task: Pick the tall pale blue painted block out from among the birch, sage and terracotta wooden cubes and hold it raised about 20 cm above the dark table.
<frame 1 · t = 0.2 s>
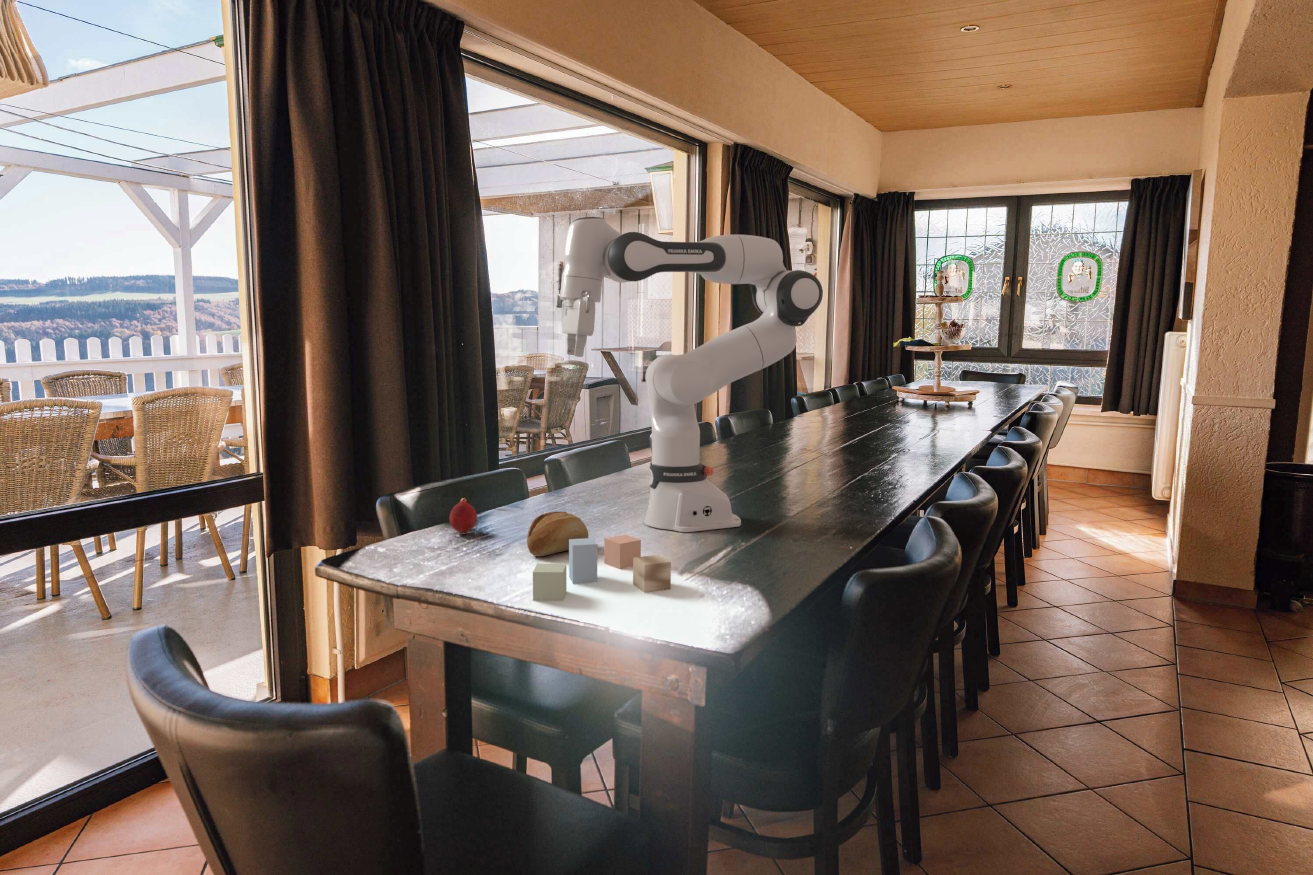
hand: (574, 355, 182), 39 cm above the table, tool pointing down, fingers open, 8 cm apart
bread roll: (556, 552, 168), on the table
terracotta block: (622, 564, 160), on the table
sage block: (550, 596, 140), on the table
pale blue block: (583, 579, 150), on the table
birch block: (651, 587, 146), on the table
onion: (463, 535, 181), on the table
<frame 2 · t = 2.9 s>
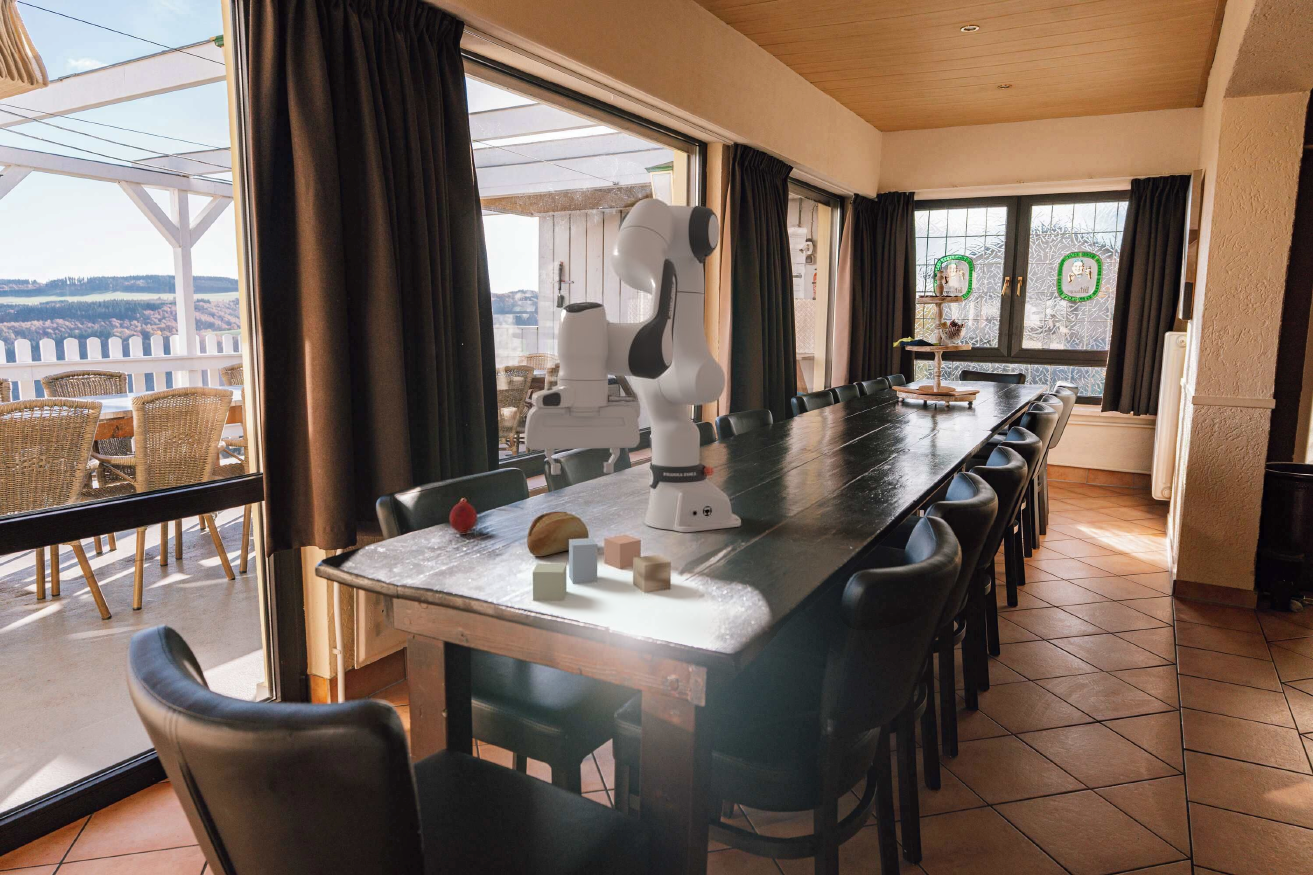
hand: (582, 473, 147), 19 cm above the table, tool pointing down, fingers open, 8 cm apart
nothing on the table moved.
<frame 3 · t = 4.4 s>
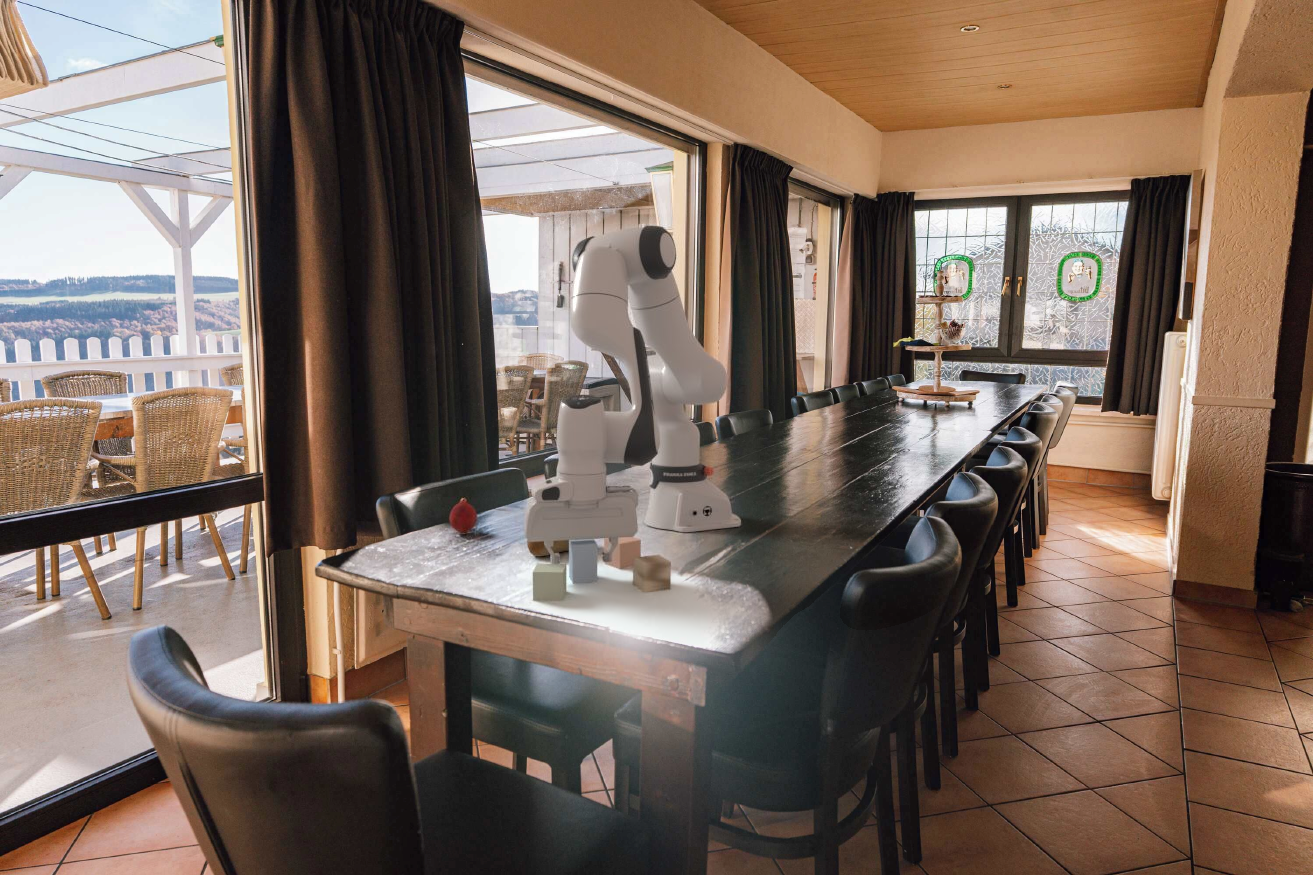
hand: (581, 562, 149), 3 cm above the table, tool pointing down, fingers open, 8 cm apart
nothing on the table moved.
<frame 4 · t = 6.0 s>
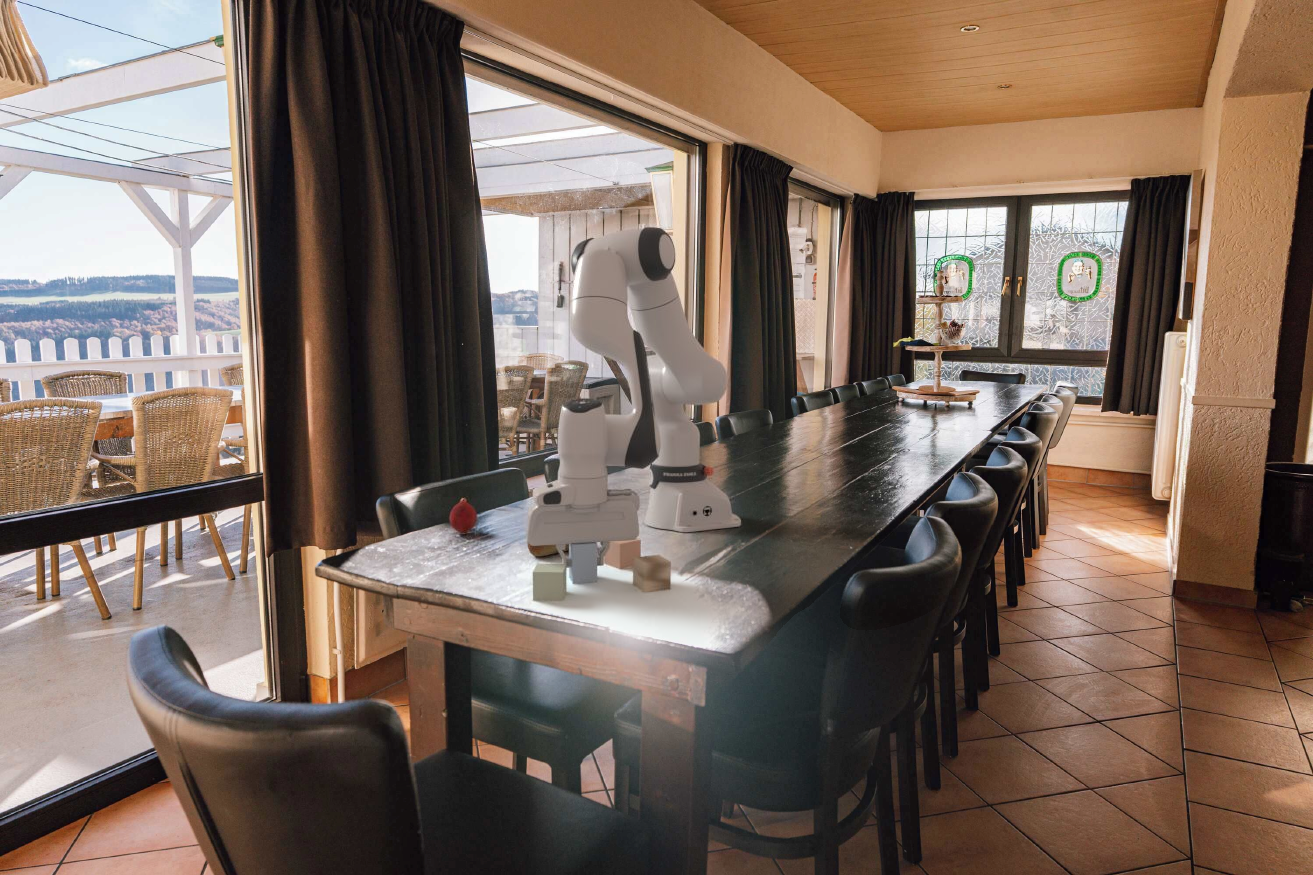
hand: (583, 566, 149), 2 cm above the table, tool pointing down, fingers closed on pale blue block, 4 cm apart
pale blue block: (583, 579, 150), on the table, touching gripper
everything else where it was.
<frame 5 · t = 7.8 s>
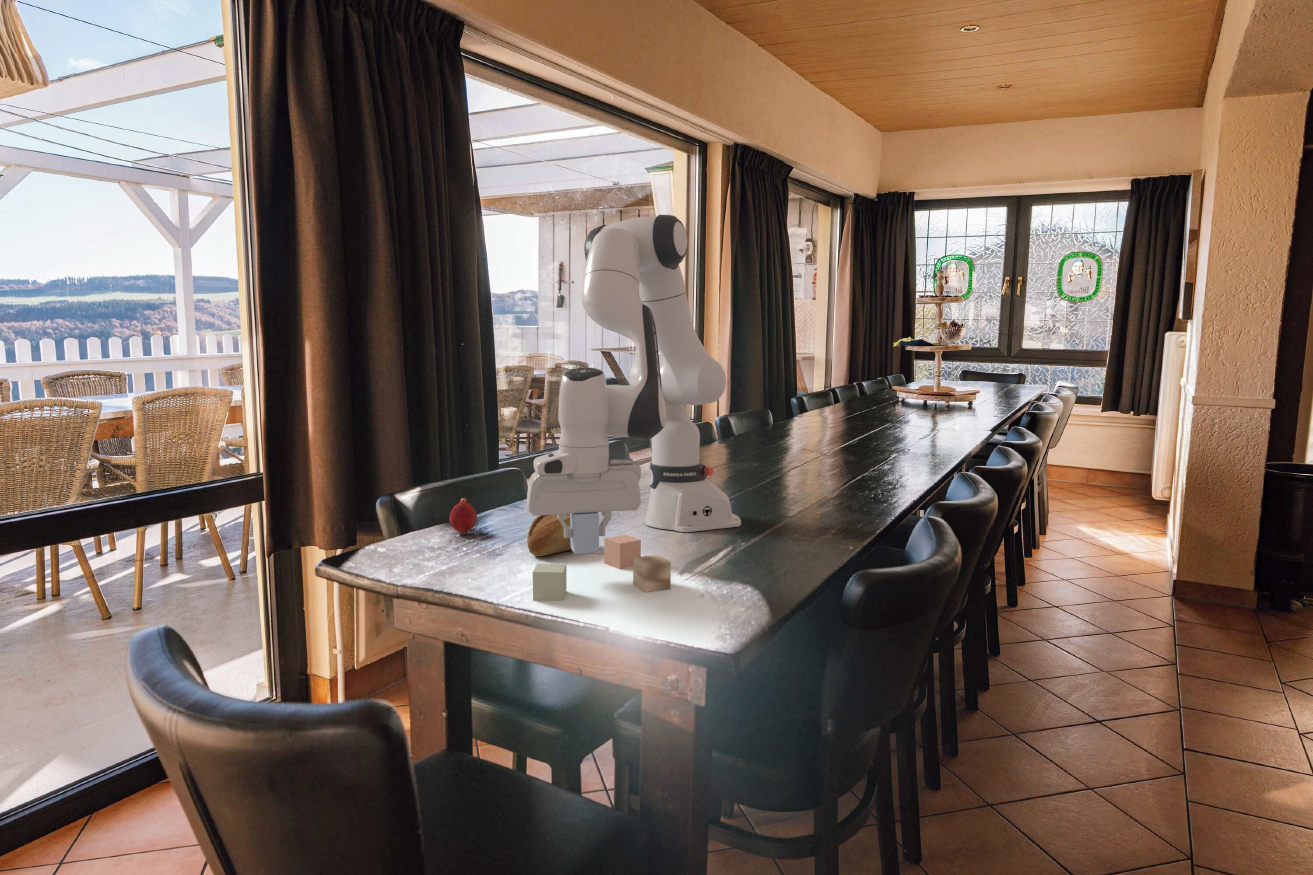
hand: (584, 536, 149), 8 cm above the table, tool pointing down, fingers closed on pale blue block, 4 cm apart
pale blue block: (584, 549, 149), point 5 cm above the table, touching gripper
everything else where it was.
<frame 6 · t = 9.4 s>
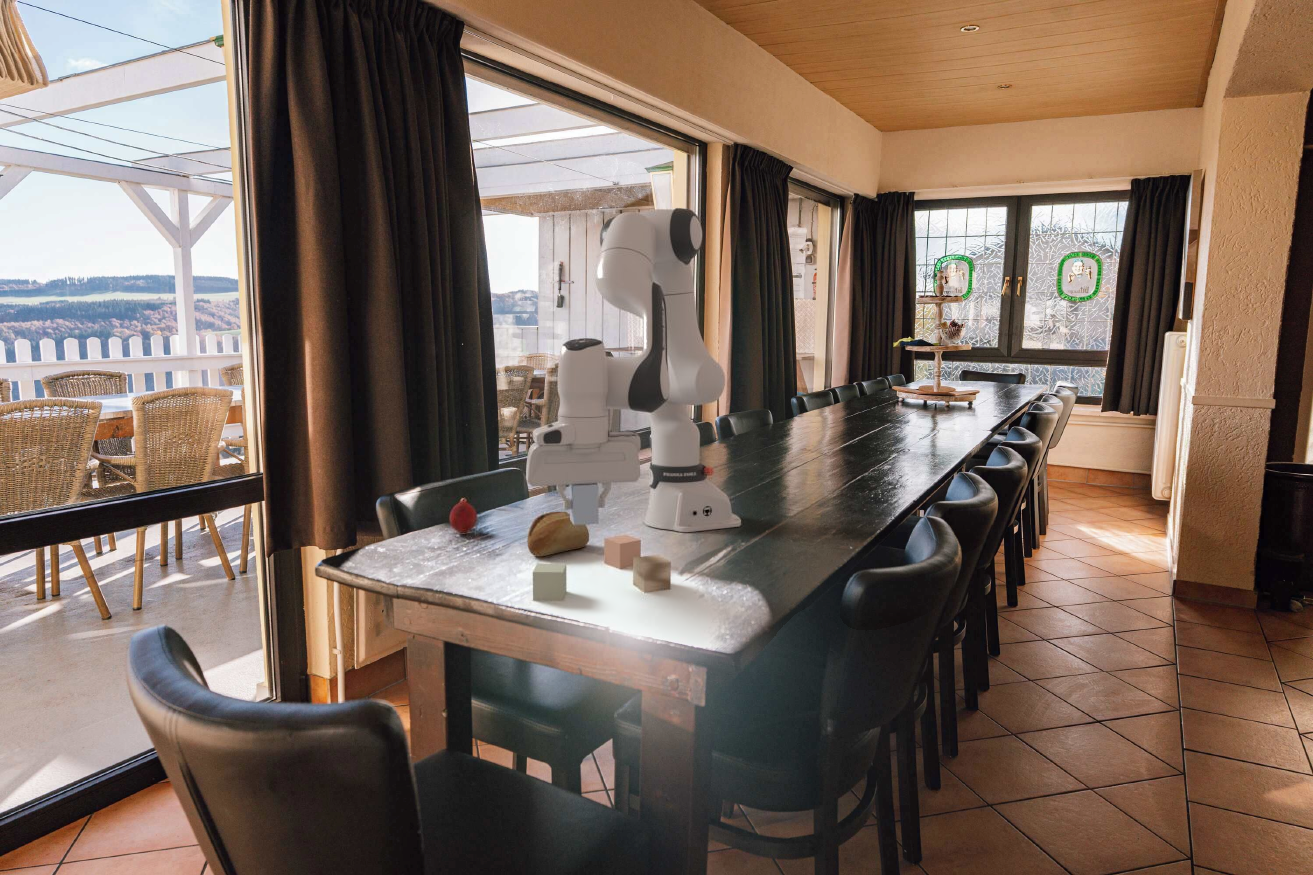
hand: (583, 508, 148), 13 cm above the table, tool pointing down, fingers closed on pale blue block, 4 cm apart
pale blue block: (584, 521, 148), point 11 cm above the table, touching gripper
everything else where it was.
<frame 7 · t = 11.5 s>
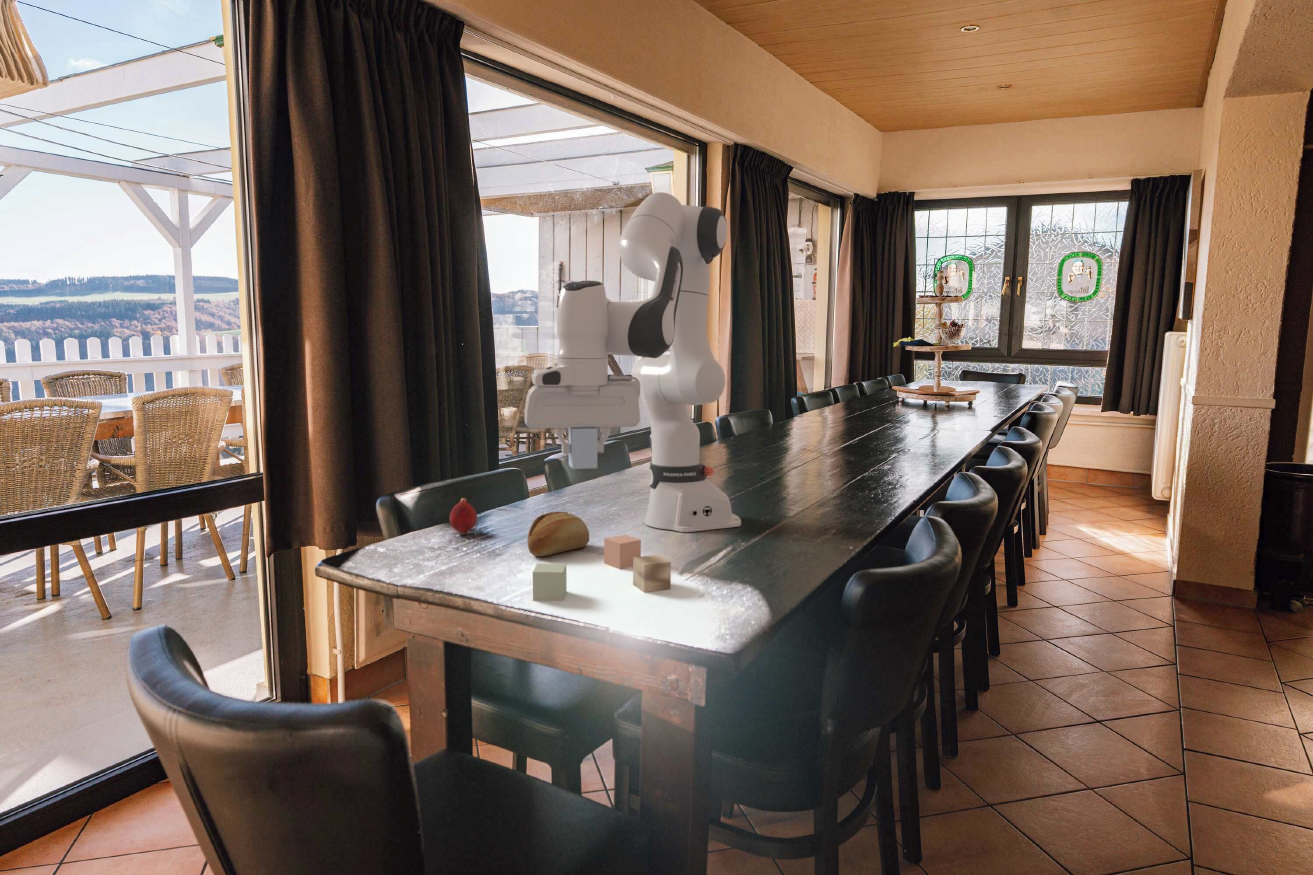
hand: (582, 452, 147), 23 cm above the table, tool pointing down, fingers closed on pale blue block, 4 cm apart
pale blue block: (582, 466, 147), point 21 cm above the table, touching gripper
everything else where it was.
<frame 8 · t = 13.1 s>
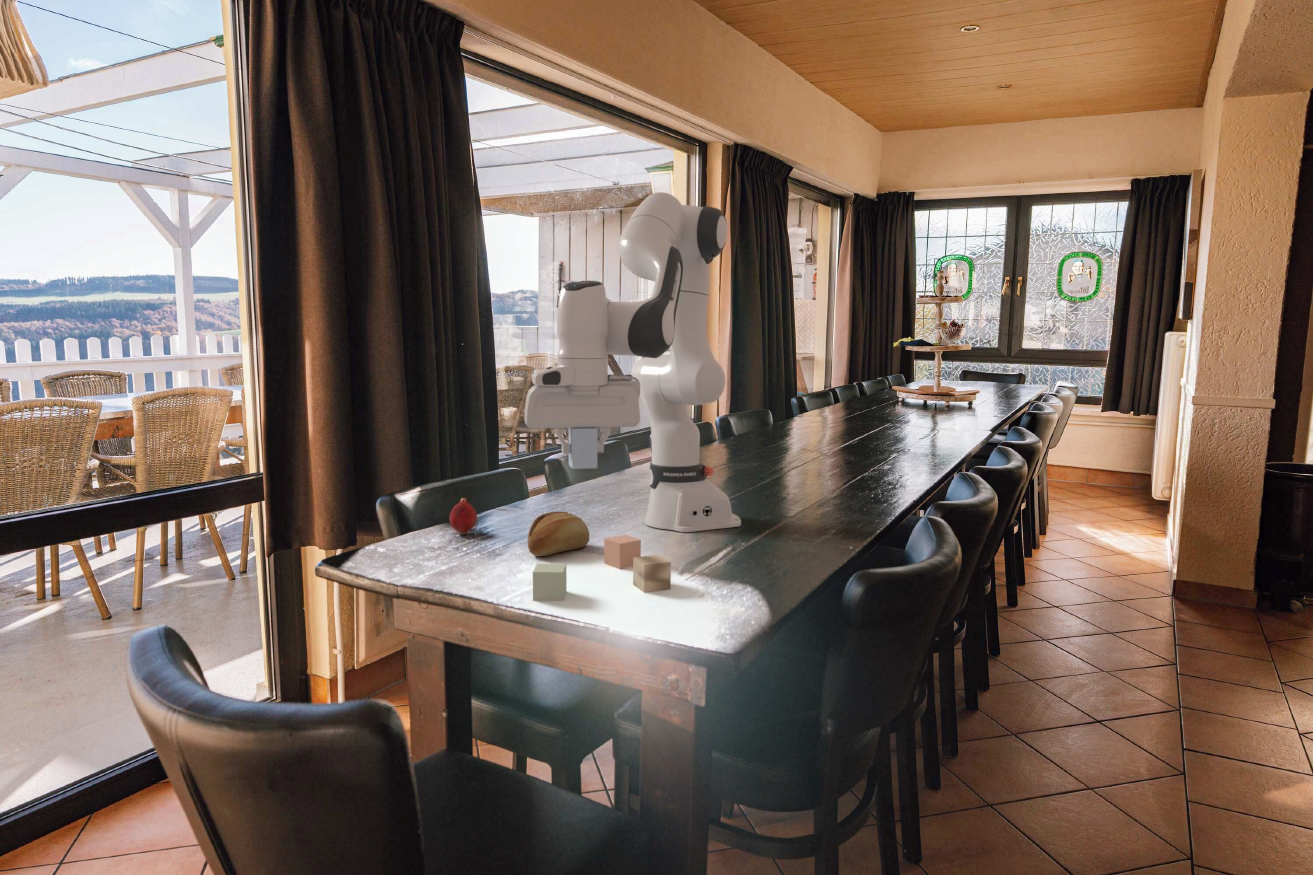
hand: (582, 452, 147), 23 cm above the table, tool pointing down, fingers closed on pale blue block, 4 cm apart
pale blue block: (582, 466, 147), point 21 cm above the table, touching gripper
everything else where it was.
at the end: the gripper is holding pale blue block; pale blue block point 20.6 cm above the table; sage block moved 0.1 cm from its start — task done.
